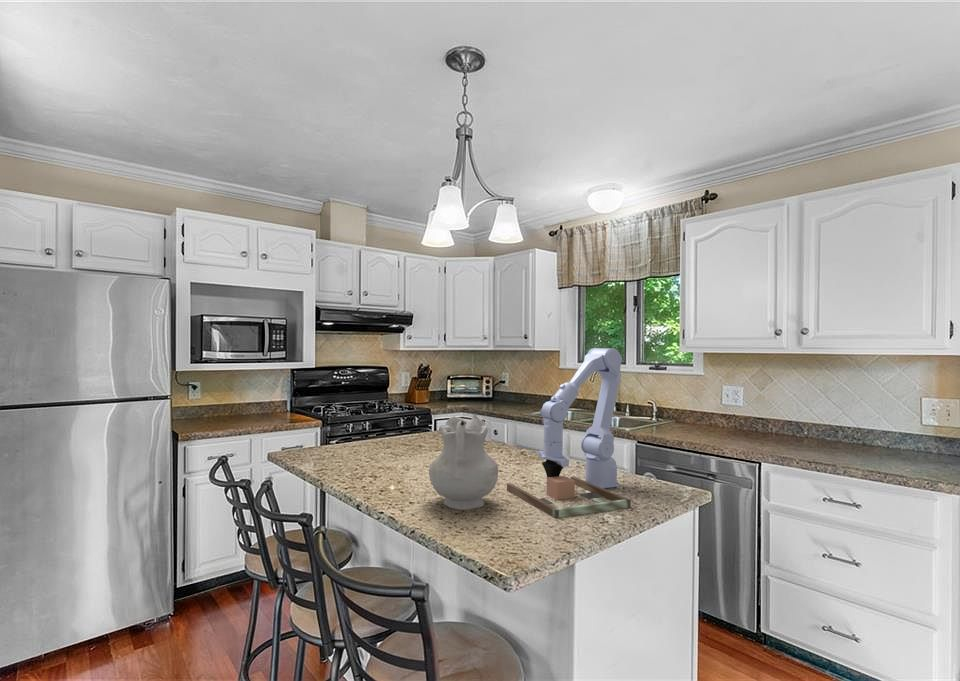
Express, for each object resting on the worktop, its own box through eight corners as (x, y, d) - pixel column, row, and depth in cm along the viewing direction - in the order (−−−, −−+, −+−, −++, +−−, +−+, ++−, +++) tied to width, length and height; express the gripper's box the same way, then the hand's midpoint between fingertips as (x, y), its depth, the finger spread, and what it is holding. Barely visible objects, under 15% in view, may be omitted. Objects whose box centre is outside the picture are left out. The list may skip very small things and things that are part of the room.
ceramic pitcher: (503, 520, 136) (511, 424, 137) (428, 517, 133) (437, 419, 133) (488, 496, 157) (495, 414, 158) (424, 493, 154) (431, 409, 155)
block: (563, 492, 159) (563, 475, 159) (574, 497, 153) (574, 480, 153) (546, 494, 156) (546, 477, 156) (557, 499, 151) (557, 482, 151)
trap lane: (573, 482, 170) (573, 476, 170) (630, 507, 145) (630, 500, 145) (506, 489, 161) (506, 483, 161) (554, 518, 135) (554, 510, 135)
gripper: (530, 437, 164) (529, 480, 164) (554, 446, 151) (553, 493, 151) (549, 436, 167) (549, 478, 167) (575, 444, 154) (574, 490, 154)
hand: (552, 485), depth 159 cm, fingers closed
